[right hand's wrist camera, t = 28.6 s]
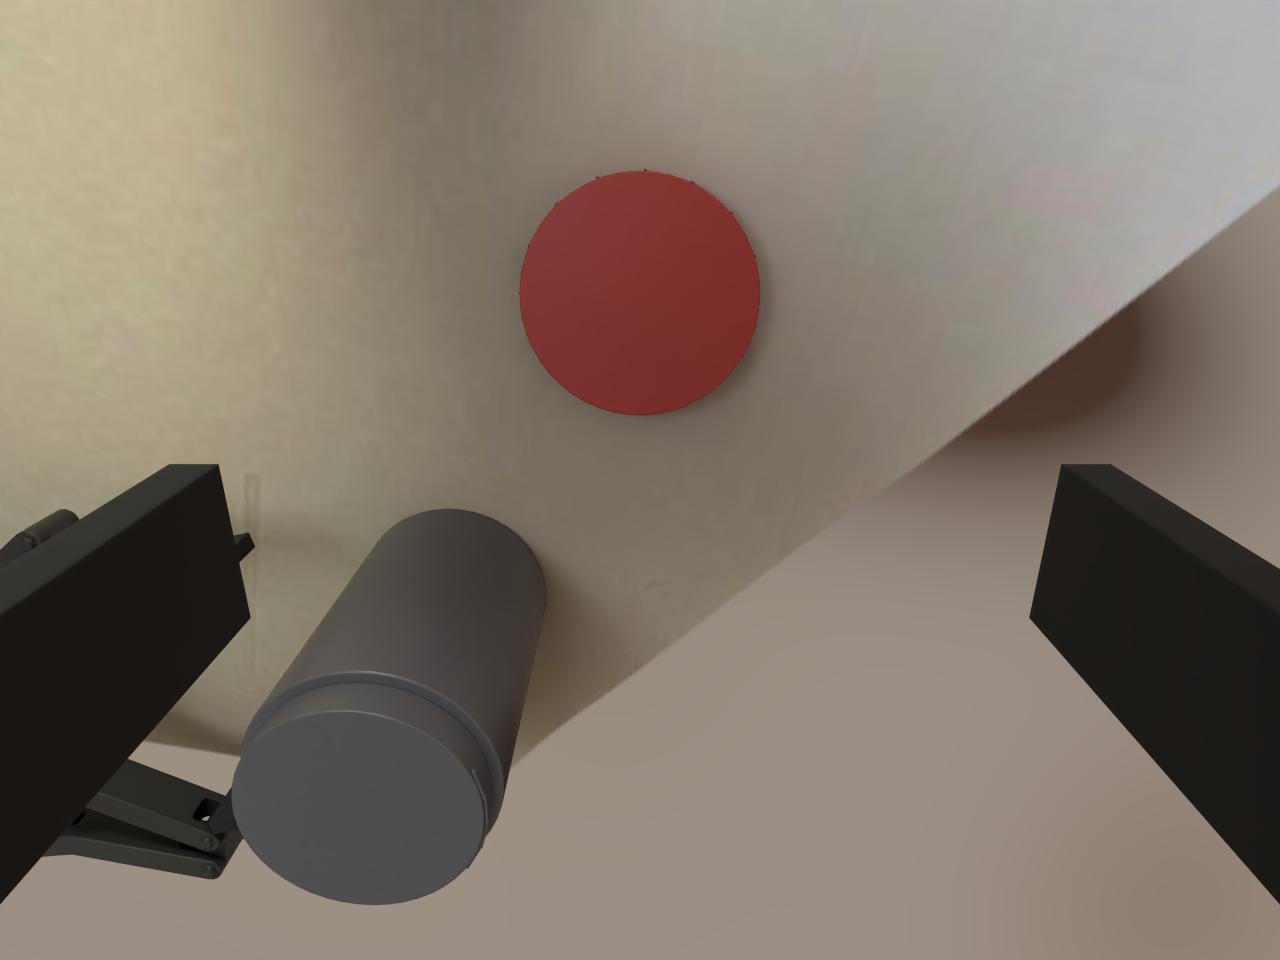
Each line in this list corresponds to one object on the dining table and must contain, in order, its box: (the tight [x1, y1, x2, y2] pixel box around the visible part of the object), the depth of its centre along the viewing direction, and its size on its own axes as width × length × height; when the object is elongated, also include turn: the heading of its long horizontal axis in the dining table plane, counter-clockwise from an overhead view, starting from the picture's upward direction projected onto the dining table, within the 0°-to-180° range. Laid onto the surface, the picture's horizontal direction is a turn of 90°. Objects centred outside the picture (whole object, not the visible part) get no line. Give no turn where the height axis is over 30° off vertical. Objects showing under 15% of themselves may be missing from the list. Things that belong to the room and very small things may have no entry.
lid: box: [519, 169, 760, 415], centre depth 36 cm, size 11×11×2 cm
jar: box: [232, 509, 546, 905], centre depth 36 cm, size 10×10×16 cm
